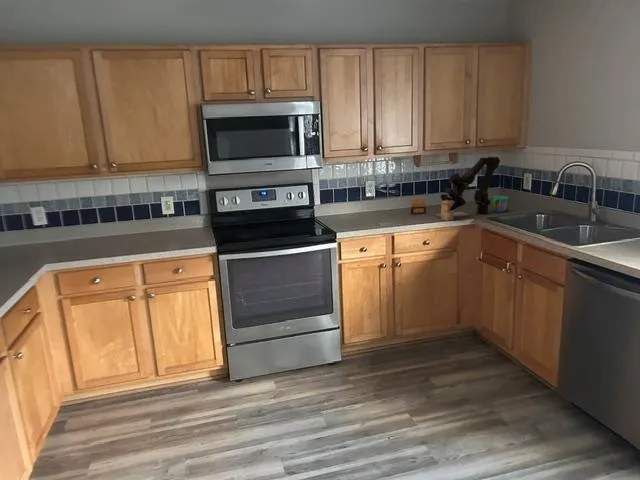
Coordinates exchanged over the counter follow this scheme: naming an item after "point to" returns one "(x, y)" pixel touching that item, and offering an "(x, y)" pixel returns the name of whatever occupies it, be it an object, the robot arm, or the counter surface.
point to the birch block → (446, 210)
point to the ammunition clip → (418, 206)
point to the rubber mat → (455, 214)
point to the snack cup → (499, 203)
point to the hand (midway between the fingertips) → (445, 209)
